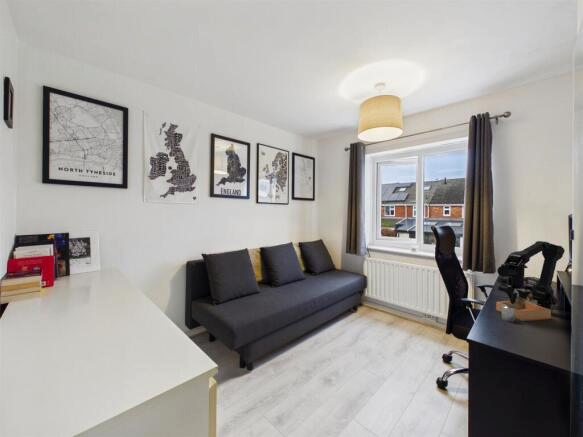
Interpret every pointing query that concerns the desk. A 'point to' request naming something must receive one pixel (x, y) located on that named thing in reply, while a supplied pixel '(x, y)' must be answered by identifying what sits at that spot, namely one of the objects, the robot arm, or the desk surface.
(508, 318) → the grey cylinder
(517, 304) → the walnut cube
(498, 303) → the tote
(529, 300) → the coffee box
